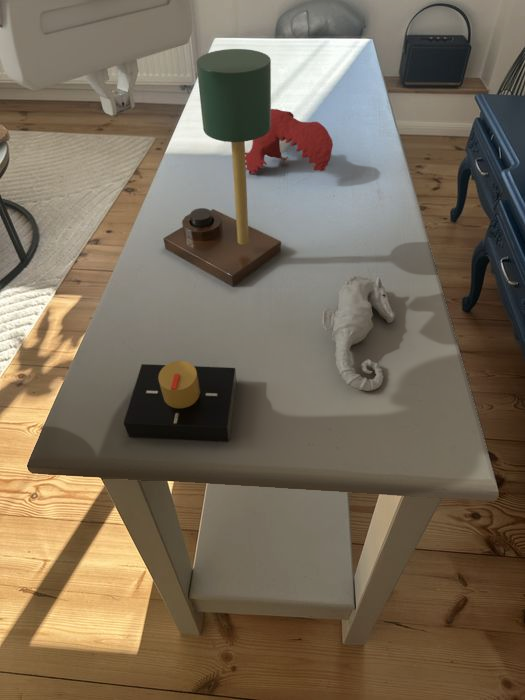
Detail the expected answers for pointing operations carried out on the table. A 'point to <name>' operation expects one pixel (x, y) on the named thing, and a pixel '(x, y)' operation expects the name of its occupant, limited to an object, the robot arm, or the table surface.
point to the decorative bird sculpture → (305, 134)
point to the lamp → (236, 110)
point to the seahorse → (357, 326)
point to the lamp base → (222, 248)
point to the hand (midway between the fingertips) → (119, 110)
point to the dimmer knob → (179, 384)
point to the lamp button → (201, 218)
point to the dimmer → (183, 423)
